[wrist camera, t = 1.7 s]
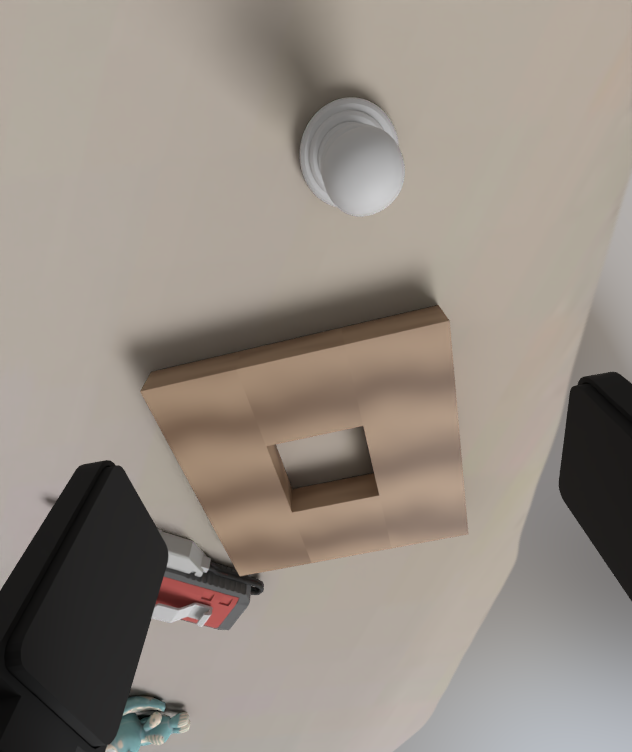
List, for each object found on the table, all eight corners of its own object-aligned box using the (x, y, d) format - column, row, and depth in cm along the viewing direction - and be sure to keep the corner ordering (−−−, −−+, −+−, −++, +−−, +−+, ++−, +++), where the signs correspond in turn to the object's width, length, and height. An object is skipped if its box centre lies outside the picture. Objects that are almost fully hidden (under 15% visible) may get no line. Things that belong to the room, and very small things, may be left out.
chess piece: (325, 223, 26) (337, 270, 18) (281, 130, 23) (273, 139, 16) (410, 178, 25) (461, 209, 17) (374, 76, 22) (415, 57, 15)
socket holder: (151, 371, 31) (140, 391, 28) (438, 305, 29) (449, 320, 27) (242, 551, 41) (239, 576, 39) (459, 510, 39) (468, 534, 37)
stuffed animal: (193, 779, 55) (88, 807, 52) (193, 713, 61) (99, 735, 58) (184, 742, 49) (66, 771, 47) (185, 673, 55) (81, 695, 53)
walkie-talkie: (275, 561, 42) (61, 493, 37) (273, 604, 39) (34, 536, 33) (238, 609, 46) (38, 554, 41) (232, 653, 42) (11, 599, 37)
